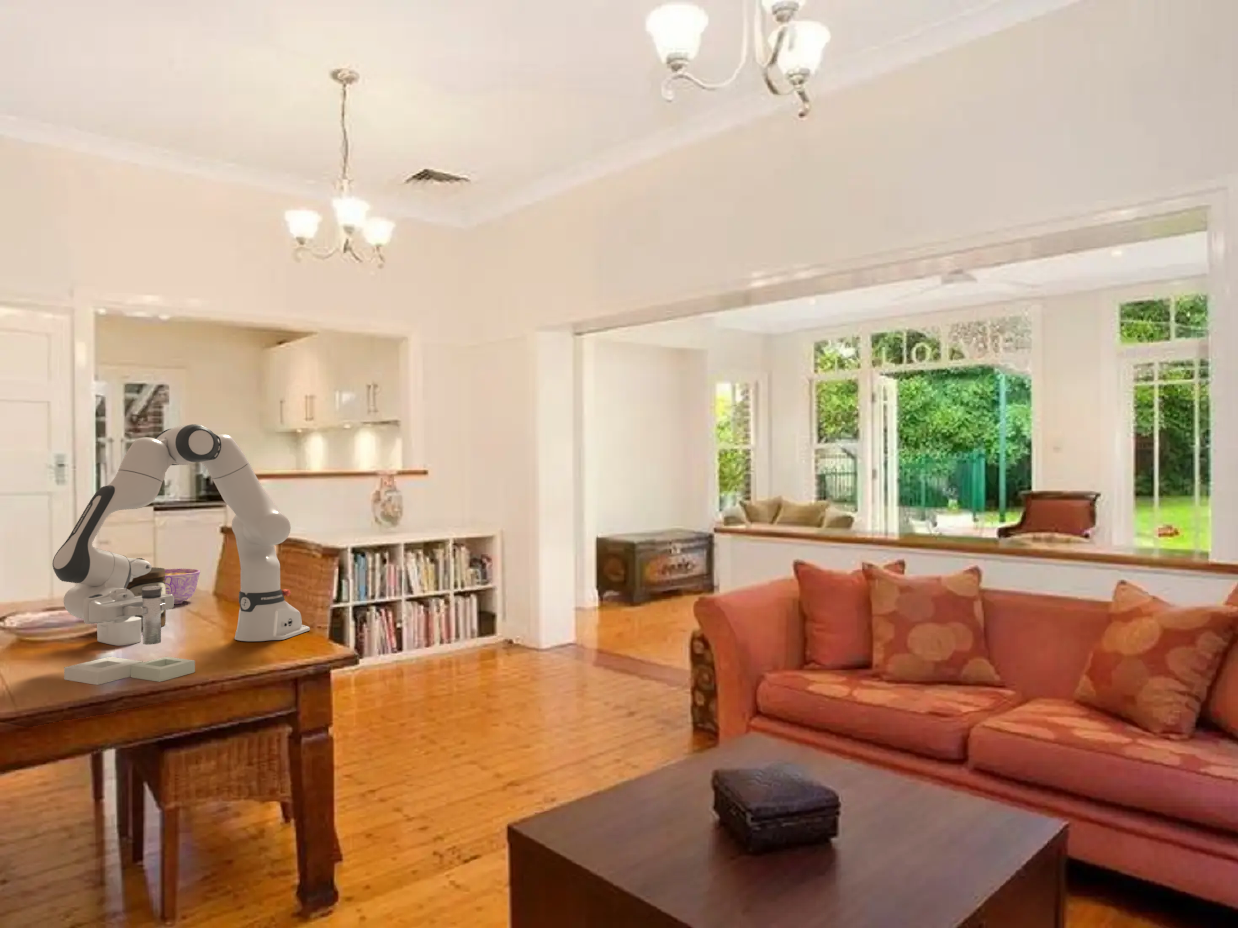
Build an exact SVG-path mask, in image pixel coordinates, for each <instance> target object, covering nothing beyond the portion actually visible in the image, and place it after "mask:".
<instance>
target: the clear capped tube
mask: <svg viewBox="0 0 1238 928" xmlns="http://www.w3.org/2000/svg"><path fill="white" fill-rule="evenodd" d="M142 606H143V607H147V614H143V630H142V644H143V645H156V644H161V643H162V627H161V586H146V587H142Z"/></svg>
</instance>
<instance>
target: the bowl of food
mask: <svg viewBox="0 0 1238 928" xmlns="http://www.w3.org/2000/svg"><path fill="white" fill-rule="evenodd" d="M164 569H165V593H166V594H172V595H173V596H174V604H175V605H180V604H183V602H185V601H186V600H188V599H190V598H191V597H192V596H193V595H194V594H195V592H196V590H197V585H198V581H199V577H200V573H201V570H200V569H196V568H164Z"/></svg>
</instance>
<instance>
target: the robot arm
mask: <svg viewBox="0 0 1238 928" xmlns="http://www.w3.org/2000/svg"><path fill="white" fill-rule="evenodd" d="M195 463H201V464H202V465H203V466H204V467H205V469H207V472H208V473H209V474H208V475H209V476H210V477H211V480H212V481H213V483H214V485H215V487H216V489H217V490H218V492H219V494H220V495H221V498H222V500H223V501H224V503H225V504H226V505H228V507H229V508H230V509H231V510H232V512H233V513H234V514H235V515H234V516H233V519H232V521H231V530H232V532H233V535H234V537H235V542H236V547H237V554H238V557H239V558H238V559H239V566H240V591H238V604H239V610H238V620H237V627H236V631H235V634H234V635H235V636H234V640H237V641H239V642H240V641H241V642H265V641H281V640H285V639H289V638H293V637H295V636H298V635H300V634H303V633H305V632H308V631H310V630H311V629H310V626H307V625H305V624H303V621H302V614H301V612H300V611H299V610H298V609H297V608H295V607H294V606H292V605H291V604H289V602H287V601H286V599H285V596H286V597H290V596H291V593H292V590H290V589H286V588H285V589H284V588H283V589H282V588H281V564H280V560H279V559H278V556H277V552H276V548H275V546H277V545H279V544H282V543H283V542H285V541H286V540H287V539H288V537H289V535H290V533H291V523H290V521H289V518H287V516H285V514H284V513H282V512H281V510H280V509H279V507H278V505H277V504H276V503H275V501H274V500H273V499H272V497H271V496H270V495H269V493H268V492H266V490H265V488H264V487H263V485H262V484H261V483H260V481H259V479H258V476H257V475H256V473H255V471H254V470H253V467H252V465H251V463H250V462H249V460H248V458H247V456H246V454H245V453H244V452H243V450H242V448H241V447H240V446H239V444H238V443H237V442H236V441H235V439H234V438H233V437H232V436H231V435H229V434H225V433H221V434H218V433H217V434H215V433H214V432H213V431H212V430H211V429H209V428H208V427H206V426H204V425H201V424H186V425H185V424H182V425H177V426H175V427H173V428H168V429H165V430H163V431H162V432H160V433H159V434H158V435H156V436H155V437H146V436H145V437H140V438H137V439H135V440H134V441H133V442H132V443H131V445H130V447H129V448H128V450H126V453H125V455H124V456H123V458H122V461H121V463H120V466H119V468H118V470H117V473H116V474H115V476H114V478H113V479H112V480H111V482H109V484H108V485H104V486H101V487H100V488H98V489H97V491H95V493H94V494H93V496H92V498H91V499H90V501H88V502H89V503H87V505H86V507H85V509H84V511H82V513H81V515H80V517H79V519H78V520H77V522H76V524H75V526H74V527H73V529H72V531H71V532H70V535H69V536H68V537H67V539H66V540H65V541H64V542H63V544H62V545H61V546H60V547H59V549H58V550H57V552H56V553H55V554H54V557H53V560H52V564H51V565H52V568H53V572H54V574H55V576H56V577H57V578H58V579H59V581H61V582H64V583H70V584H71V583H72V584H76V585H75V586H74V587H72V588H70V589H68V590H67V591H66V593H65V594H64V595H63V596H64V597H63V606H64V608H65V610H66V611H67V613H69V615H71V616H73V617H76V618H79V619H82V620H83V622H84V624H85V625H86V624H87V625H92V624H93V625H94V624H97V623H103V622H106V623H111V622H112V623H122V622H124V621H126V620H128V619H129V618H130V617H131V616H135V615H143V614H147V607H143V606H142V596H137V597H135V596H134V594H133V593H132V592H131V591H130V590H128V589H126V587H127V586H128V583H129V581H130V578H131V565H130V562H129V560H128V558H129V557H127V556H126V555H122V554H119V553H116V552H113V551H110V550H104V549H101V548H98V547H93V542H94V540H95V539H96V537H97V535H98V533H99V532H100V530H101V528H102V526H103V524H104V522H105V521H106V520H107V518H108V517H109V516H110V515H111V514H113V513H115V512H117V511H124V510H135V509H142V508H145V507H147V506H148V505H150V504H152V503H153V502H154V501H155V500H156V499H157V497H158V495H159V493H160V491H161V487H162V485H163V481H164V478H165V476H166V472H167V470H169V468H170V467H171V466H188V465H192V464H195ZM174 606H175V605H174V596H173V595H172V594H161V611H163V610H166V611H167V610H171V609H173V608H175V607H174Z"/></svg>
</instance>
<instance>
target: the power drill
mask: <svg viewBox="0 0 1238 928" xmlns="http://www.w3.org/2000/svg"><path fill="white" fill-rule="evenodd" d="M127 558H128V560H129V562H130V565H131V578H130V581H129V582H132V580H133V578H136V577H139V576H142V575H145V574H147V573H149V572H150V571H151V568H152V564H151V562H149V561H148V560H140V559H136V558H132V557H127ZM96 631H97V632H96V635H97V636H96V637H97V639H96V640H97V642H99V643H102V644H107V645H110V646H117V647H118V646H119V647H121V646H129V645H134V644H139V643H140V642H141V641H142V630H141V618H140V617H135V616H131V617H130V618H129V619H128V620H126V621H124V622H122V623H112V622H111V623H106V622H103V623H96Z"/></svg>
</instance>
